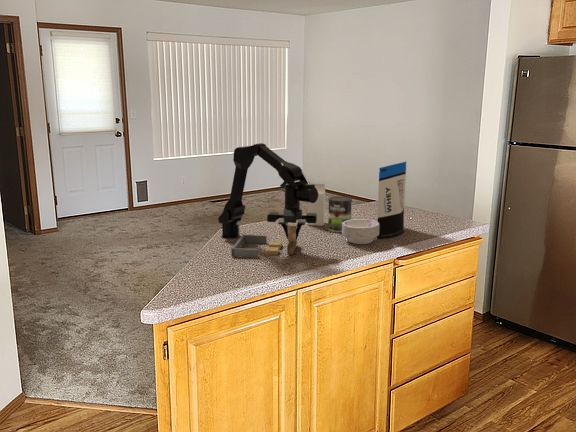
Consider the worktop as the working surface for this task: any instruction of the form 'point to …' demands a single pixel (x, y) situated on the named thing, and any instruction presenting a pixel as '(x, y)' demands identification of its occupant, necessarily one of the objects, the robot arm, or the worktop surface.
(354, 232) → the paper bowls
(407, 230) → the worktop surface
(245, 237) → the tray
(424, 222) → the worktop surface
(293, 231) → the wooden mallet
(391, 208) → the protein powder
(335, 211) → the coffee can
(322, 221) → the milk carton
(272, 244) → the tan square block
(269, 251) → the chip
